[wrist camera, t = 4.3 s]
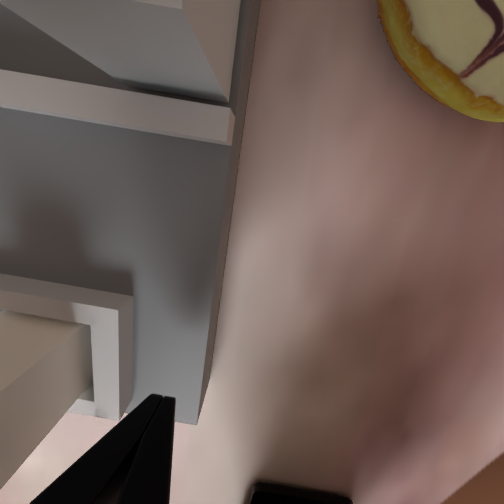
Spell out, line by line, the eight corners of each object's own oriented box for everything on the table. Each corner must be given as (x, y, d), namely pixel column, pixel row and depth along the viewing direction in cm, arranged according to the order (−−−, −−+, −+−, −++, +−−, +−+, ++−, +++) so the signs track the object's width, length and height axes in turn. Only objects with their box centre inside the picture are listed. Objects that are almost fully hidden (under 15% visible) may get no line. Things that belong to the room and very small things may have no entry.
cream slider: (92, 317, 9) (-28, 414, 5) (95, 377, 10) (-7, 497, 6) (16, 304, 9) (-157, 392, 5) (26, 365, 10) (-118, 478, 6)
